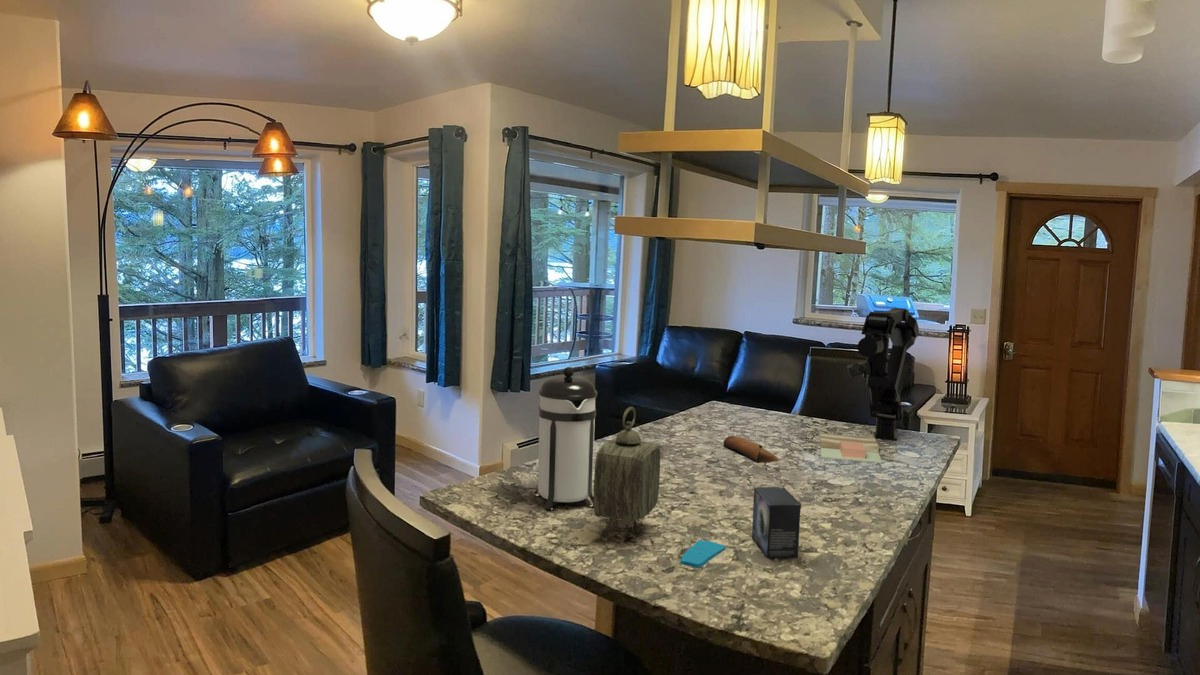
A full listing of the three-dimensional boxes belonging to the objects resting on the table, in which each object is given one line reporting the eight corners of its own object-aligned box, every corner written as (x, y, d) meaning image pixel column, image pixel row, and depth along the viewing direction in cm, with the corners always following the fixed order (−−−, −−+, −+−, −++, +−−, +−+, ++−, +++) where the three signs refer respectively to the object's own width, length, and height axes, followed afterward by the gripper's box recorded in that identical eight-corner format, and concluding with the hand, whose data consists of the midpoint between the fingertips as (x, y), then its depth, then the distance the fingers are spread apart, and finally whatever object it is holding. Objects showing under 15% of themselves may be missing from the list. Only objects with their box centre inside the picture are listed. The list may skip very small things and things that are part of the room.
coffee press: (613, 497, 174) (617, 366, 170) (575, 517, 160) (579, 374, 157) (549, 484, 182) (553, 358, 179) (508, 501, 169) (511, 366, 165)
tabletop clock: (617, 516, 162) (622, 399, 159) (659, 523, 158) (664, 403, 156) (591, 539, 148) (596, 411, 145) (636, 547, 145) (641, 417, 142)
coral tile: (839, 449, 224) (840, 440, 223) (861, 451, 223) (861, 442, 222) (842, 457, 215) (843, 448, 215) (865, 458, 214) (865, 450, 213)
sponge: (669, 558, 139) (698, 562, 136) (698, 539, 149) (726, 542, 146) (669, 566, 139) (699, 571, 136) (698, 546, 149) (726, 550, 146)
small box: (749, 537, 152) (752, 485, 151) (781, 537, 153) (784, 486, 152) (765, 558, 142) (768, 503, 141) (799, 558, 142) (803, 503, 141)
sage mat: (820, 449, 225) (820, 447, 225) (878, 454, 221) (878, 453, 221) (821, 457, 215) (821, 456, 215) (881, 463, 211) (881, 461, 211)
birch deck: (819, 439, 237) (820, 433, 237) (874, 444, 233) (874, 437, 233) (820, 448, 225) (820, 441, 225) (878, 453, 221) (878, 447, 221)
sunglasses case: (783, 460, 210) (774, 440, 208) (764, 475, 208) (754, 455, 206) (747, 444, 227) (738, 426, 225) (729, 458, 225) (719, 439, 223)
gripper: (847, 348, 240) (844, 398, 242) (851, 356, 222) (847, 409, 224) (885, 351, 237) (881, 400, 239) (892, 358, 219) (888, 412, 221)
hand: (874, 405), depth 231 cm, fingers closed
